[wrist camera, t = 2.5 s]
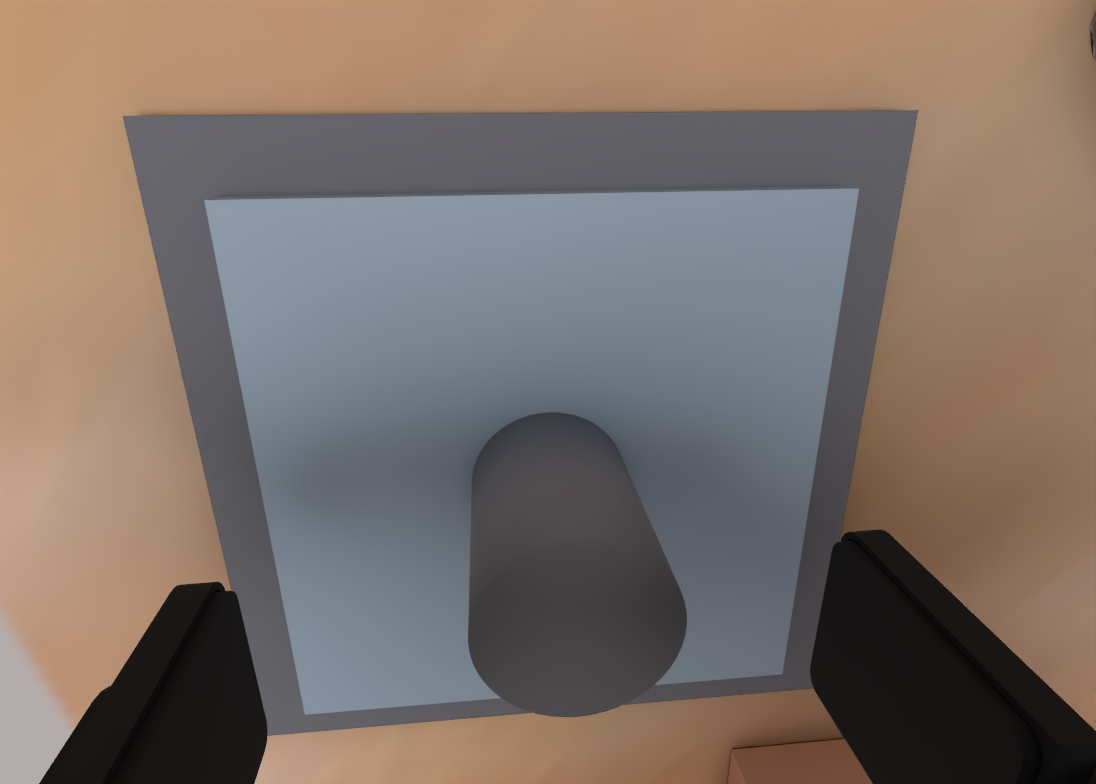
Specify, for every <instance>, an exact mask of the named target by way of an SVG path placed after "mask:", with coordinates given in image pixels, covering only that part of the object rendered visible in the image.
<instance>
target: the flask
mask: <svg viewBox="0 0 1096 784" xmlns="http://www.w3.org/2000/svg"><path fill="white" fill-rule="evenodd" d="M1090 31H1091V33H1092V39H1093V57H1095V58H1096V14H1095V16H1094V18H1093V21H1092V23H1091V25H1090Z"/></svg>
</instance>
